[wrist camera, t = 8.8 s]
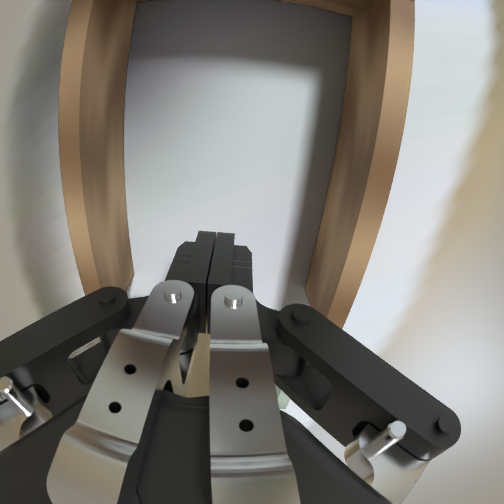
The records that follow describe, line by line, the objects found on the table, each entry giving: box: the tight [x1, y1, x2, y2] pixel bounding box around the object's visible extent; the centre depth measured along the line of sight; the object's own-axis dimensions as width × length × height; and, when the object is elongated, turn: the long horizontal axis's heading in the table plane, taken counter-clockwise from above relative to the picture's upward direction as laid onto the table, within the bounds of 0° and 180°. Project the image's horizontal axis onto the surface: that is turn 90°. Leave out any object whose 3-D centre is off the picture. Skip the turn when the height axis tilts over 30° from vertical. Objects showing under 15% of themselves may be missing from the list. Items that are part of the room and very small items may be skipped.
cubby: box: [58, 0, 415, 329], centre depth 10 cm, size 16×12×4 cm
